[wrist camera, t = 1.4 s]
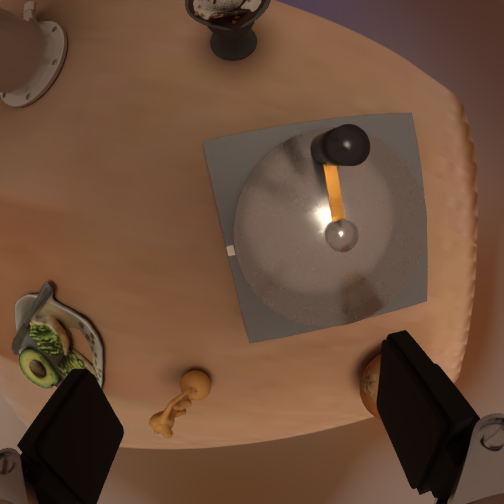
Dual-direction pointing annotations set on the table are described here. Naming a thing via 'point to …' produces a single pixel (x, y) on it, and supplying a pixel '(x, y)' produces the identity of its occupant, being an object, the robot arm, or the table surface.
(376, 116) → the instrument base
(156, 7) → the table surface
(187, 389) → the figurine
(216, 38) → the sundae
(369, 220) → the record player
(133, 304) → the table surface
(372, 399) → the onion
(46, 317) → the avocado toast plate
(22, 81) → the robot arm
